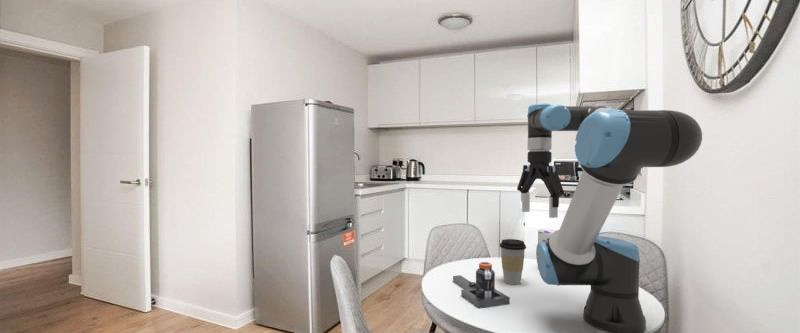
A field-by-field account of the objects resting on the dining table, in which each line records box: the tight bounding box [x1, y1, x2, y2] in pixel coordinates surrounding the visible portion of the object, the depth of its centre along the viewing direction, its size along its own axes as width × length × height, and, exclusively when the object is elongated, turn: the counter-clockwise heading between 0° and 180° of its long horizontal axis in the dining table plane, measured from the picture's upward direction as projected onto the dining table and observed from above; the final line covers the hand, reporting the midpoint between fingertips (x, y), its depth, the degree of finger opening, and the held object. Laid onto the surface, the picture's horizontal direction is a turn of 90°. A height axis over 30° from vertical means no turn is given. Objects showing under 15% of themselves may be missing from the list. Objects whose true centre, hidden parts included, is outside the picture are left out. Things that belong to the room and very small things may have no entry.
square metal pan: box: [452, 274, 511, 309], centre depth 128 cm, size 25×11×3 cm, turn 19°
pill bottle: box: [475, 261, 496, 299], centre depth 122 cm, size 6×6×11 cm
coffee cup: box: [499, 238, 527, 286], centre depth 139 cm, size 9×9×15 cm
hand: (538, 214), depth 127 cm, fingers open, 13 cm apart
